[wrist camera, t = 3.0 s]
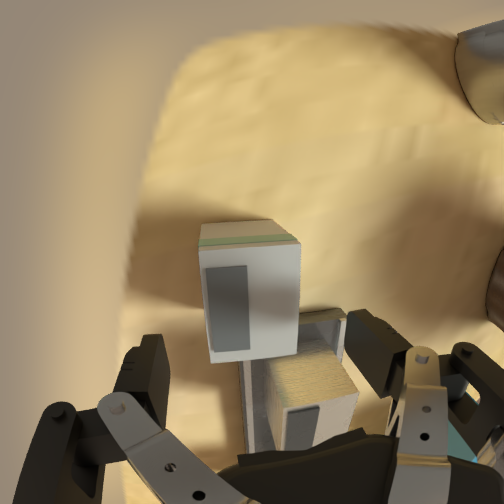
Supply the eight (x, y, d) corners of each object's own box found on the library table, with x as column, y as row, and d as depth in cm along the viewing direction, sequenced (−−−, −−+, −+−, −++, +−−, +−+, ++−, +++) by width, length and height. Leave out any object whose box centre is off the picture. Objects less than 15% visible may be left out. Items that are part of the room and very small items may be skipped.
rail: (235, 320, 20) (250, 396, 13) (340, 308, 21) (391, 367, 14) (248, 477, 27) (257, 526, 20) (310, 466, 28) (327, 512, 21)
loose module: (201, 223, 18) (197, 251, 12) (273, 218, 18) (302, 243, 13) (208, 309, 20) (210, 365, 14) (273, 304, 20) (297, 355, 14)
